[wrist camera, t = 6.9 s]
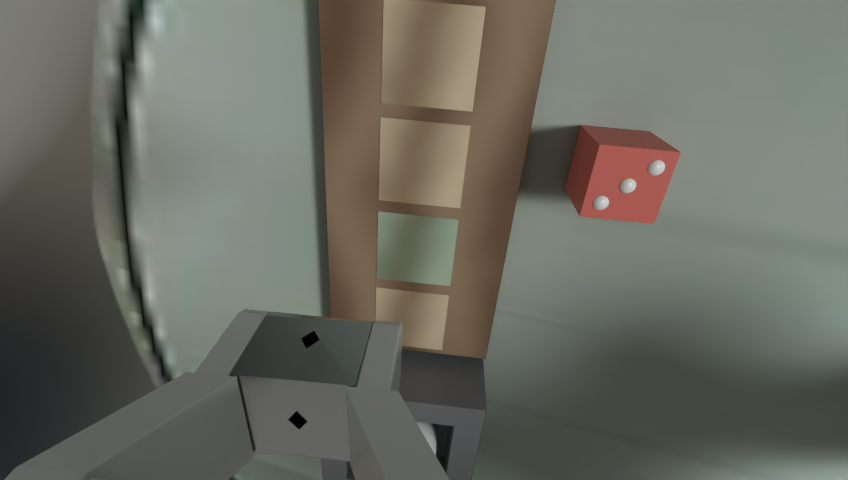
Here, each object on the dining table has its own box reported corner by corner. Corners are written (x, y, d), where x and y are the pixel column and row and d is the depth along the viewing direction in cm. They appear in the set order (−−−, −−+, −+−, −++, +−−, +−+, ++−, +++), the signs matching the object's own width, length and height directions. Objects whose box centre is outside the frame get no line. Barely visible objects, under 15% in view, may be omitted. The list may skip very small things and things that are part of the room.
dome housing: (483, 358, 34) (486, 410, 30) (464, 453, 40) (465, 507, 36) (335, 342, 35) (316, 390, 30) (338, 437, 40) (323, 490, 36)
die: (649, 131, 25) (681, 152, 21) (628, 195, 27) (653, 223, 23) (580, 125, 25) (600, 144, 21) (564, 188, 27) (579, 216, 23)
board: (580, -149, 19) (586, -157, 18) (484, 349, 34) (485, 359, 33) (317, -168, 20) (310, -177, 19) (335, 332, 34) (331, 341, 33)
